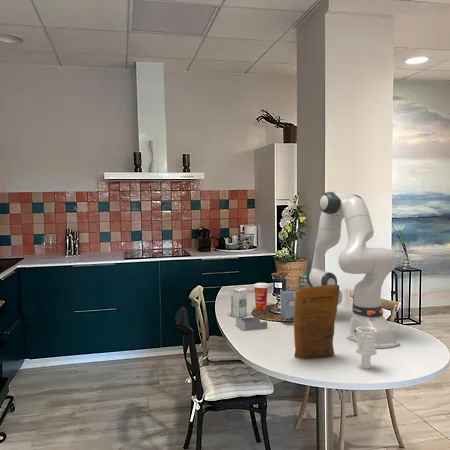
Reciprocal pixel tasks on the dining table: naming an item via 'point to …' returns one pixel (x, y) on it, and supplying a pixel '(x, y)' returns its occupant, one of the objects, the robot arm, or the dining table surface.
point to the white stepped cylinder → (366, 345)
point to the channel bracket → (250, 323)
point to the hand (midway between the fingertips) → (285, 302)
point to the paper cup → (261, 295)
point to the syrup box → (239, 302)
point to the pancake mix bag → (315, 321)
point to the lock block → (286, 303)
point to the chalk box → (303, 281)
